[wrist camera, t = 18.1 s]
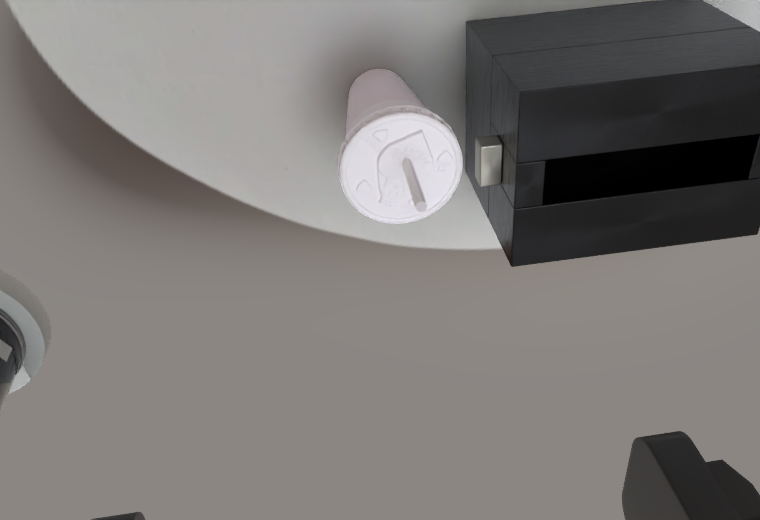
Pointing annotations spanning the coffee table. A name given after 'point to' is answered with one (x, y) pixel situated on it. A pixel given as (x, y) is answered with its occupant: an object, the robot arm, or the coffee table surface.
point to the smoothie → (395, 152)
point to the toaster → (614, 128)
